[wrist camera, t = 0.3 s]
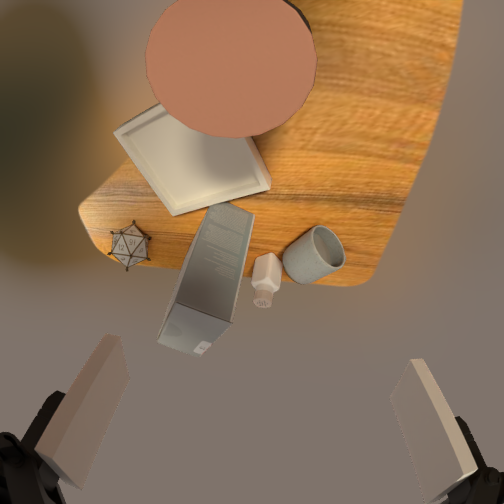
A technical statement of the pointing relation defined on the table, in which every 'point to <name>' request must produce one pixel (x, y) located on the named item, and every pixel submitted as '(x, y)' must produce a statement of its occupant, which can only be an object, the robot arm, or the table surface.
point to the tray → (191, 162)
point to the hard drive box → (208, 281)
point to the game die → (130, 246)
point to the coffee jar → (231, 64)
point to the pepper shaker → (266, 279)
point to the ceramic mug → (313, 255)
